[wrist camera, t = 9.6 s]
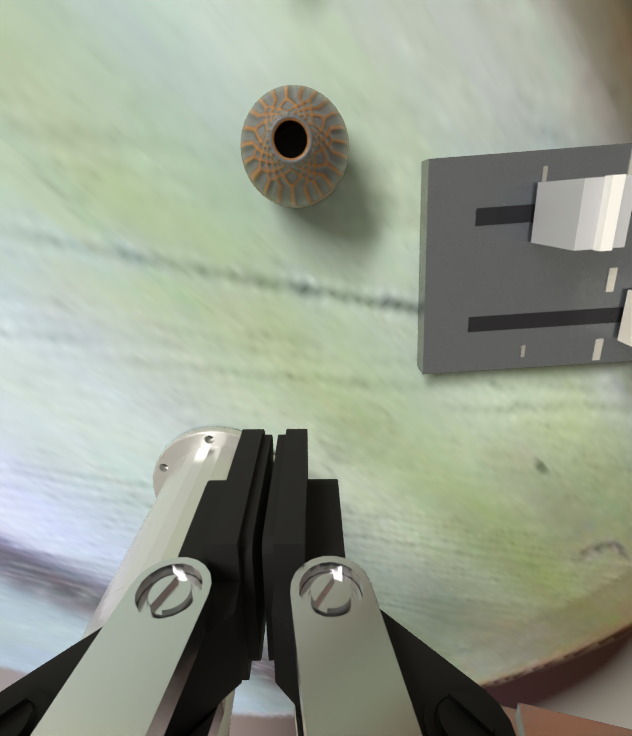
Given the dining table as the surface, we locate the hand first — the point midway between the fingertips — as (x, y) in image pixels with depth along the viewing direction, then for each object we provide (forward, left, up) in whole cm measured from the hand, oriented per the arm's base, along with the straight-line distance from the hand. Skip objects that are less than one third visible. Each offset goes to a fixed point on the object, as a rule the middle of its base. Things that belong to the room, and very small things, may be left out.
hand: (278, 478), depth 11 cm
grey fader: (+5, -18, -22) cm, 29 cm away
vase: (+10, 0, -25) cm, 27 cm away
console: (+1, -21, -25) cm, 33 cm away
